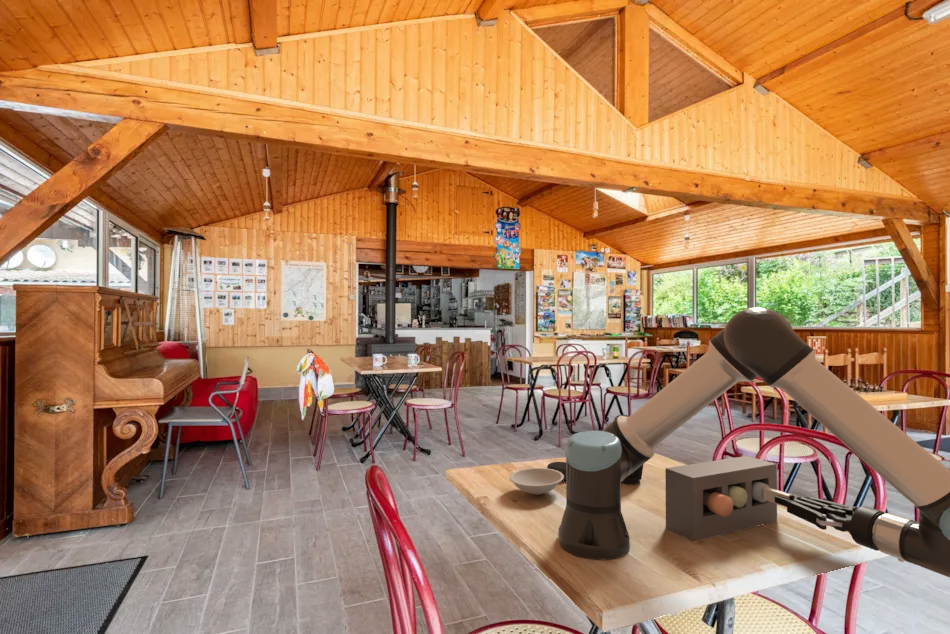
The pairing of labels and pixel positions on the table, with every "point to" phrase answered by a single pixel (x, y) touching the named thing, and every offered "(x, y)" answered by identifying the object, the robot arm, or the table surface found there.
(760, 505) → the console
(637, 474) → the portable speaker
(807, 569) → the table surface
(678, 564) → the table surface
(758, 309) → the robot arm
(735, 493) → the sage button
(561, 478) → the dish
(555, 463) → the smart speaker
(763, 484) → the grey rounded knob
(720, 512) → the terracotta button
